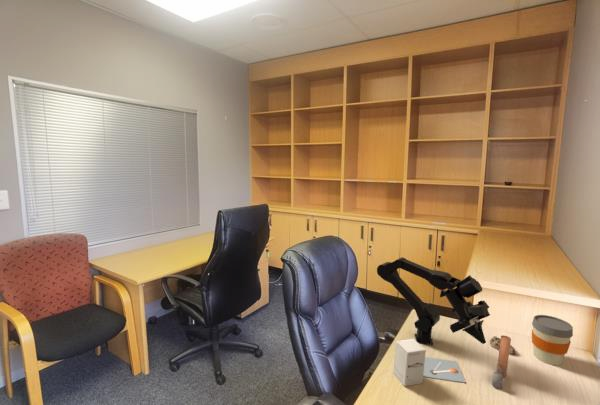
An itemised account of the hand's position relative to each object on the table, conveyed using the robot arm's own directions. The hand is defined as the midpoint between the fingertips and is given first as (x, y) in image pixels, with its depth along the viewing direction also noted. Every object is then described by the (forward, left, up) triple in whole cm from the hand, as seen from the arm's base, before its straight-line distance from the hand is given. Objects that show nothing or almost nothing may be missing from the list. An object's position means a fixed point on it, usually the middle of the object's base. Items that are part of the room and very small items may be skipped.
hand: (484, 343), depth 119 cm
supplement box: (+12, -28, -10) cm, 32 cm away
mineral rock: (-16, +13, -10) cm, 23 cm away
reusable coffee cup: (-13, +28, -10) cm, 32 cm away
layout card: (+4, -15, -10) cm, 19 cm away
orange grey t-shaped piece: (+6, +4, -9) cm, 12 cm away
